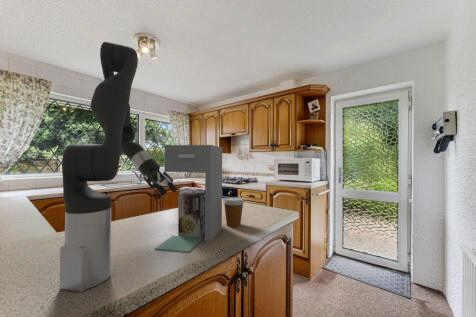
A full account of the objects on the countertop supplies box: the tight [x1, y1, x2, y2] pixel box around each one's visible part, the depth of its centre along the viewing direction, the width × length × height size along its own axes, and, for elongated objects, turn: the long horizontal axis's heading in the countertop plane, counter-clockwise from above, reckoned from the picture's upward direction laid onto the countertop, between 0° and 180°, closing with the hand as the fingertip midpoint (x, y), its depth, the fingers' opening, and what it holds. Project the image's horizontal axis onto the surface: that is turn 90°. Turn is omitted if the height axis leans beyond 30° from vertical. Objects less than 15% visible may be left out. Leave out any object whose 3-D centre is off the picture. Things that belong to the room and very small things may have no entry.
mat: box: [154, 235, 203, 253], centre depth 74 cm, size 12×12×1 cm
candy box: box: [178, 186, 205, 226], centre depth 100 cm, size 14×6×16 cm, turn 73°
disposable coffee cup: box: [222, 196, 245, 228], centre depth 96 cm, size 10×10×12 cm
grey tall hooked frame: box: [164, 144, 223, 244], centre depth 84 cm, size 17×18×35 cm
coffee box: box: [177, 193, 205, 238], centre depth 84 cm, size 9×6×16 cm
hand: (170, 192), depth 86 cm, fingers open, 8 cm apart
